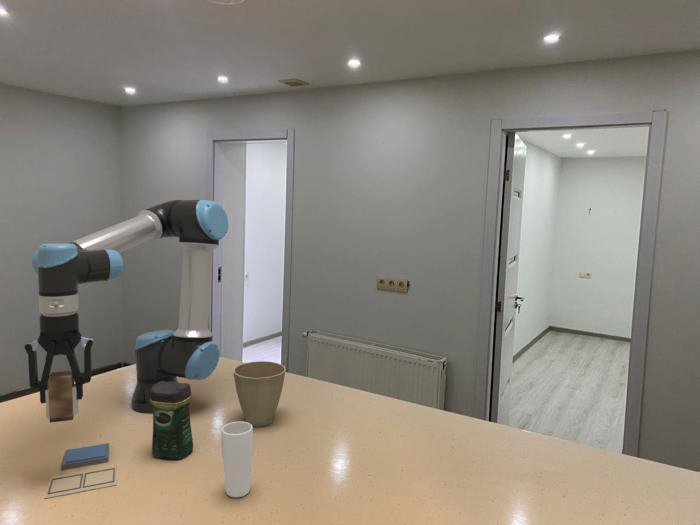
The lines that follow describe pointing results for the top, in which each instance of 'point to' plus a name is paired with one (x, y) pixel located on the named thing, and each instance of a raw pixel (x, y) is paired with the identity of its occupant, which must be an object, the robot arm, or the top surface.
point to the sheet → (81, 481)
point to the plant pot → (259, 390)
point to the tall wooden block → (60, 396)
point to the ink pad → (86, 456)
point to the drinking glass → (237, 457)
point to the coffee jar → (171, 420)
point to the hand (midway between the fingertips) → (62, 414)
